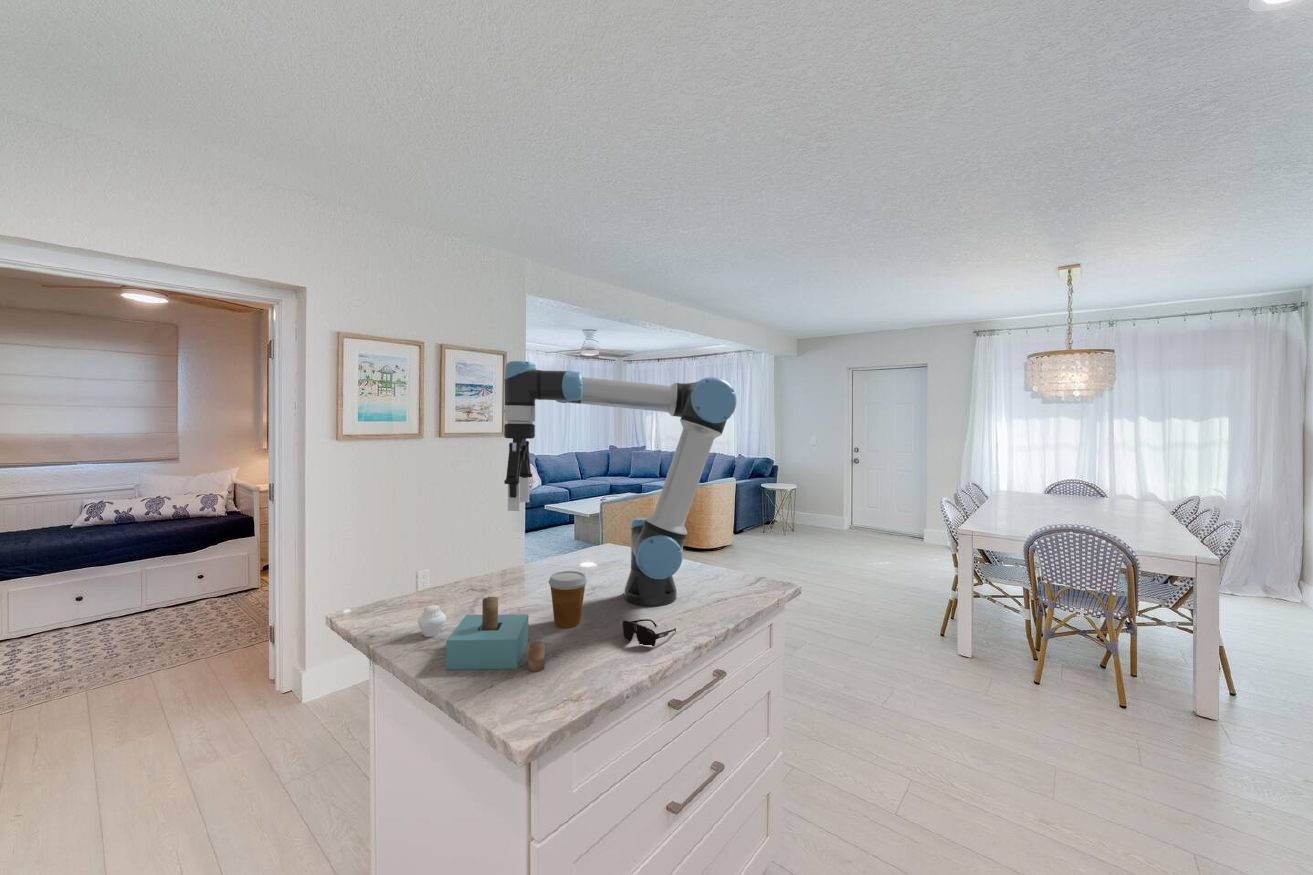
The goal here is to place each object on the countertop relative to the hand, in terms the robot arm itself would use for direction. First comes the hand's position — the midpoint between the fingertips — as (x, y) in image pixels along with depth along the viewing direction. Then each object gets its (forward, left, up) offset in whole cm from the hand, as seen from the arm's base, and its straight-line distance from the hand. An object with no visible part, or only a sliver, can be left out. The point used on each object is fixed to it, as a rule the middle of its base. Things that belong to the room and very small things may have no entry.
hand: (518, 506), depth 134 cm
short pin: (-9, +28, -29) cm, 41 cm away
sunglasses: (-33, +13, -29) cm, 46 cm away
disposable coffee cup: (-13, +4, -29) cm, 32 cm away
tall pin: (+2, +21, -29) cm, 36 cm away
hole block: (+2, +21, -29) cm, 36 cm away
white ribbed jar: (+18, +10, -29) cm, 35 cm away
